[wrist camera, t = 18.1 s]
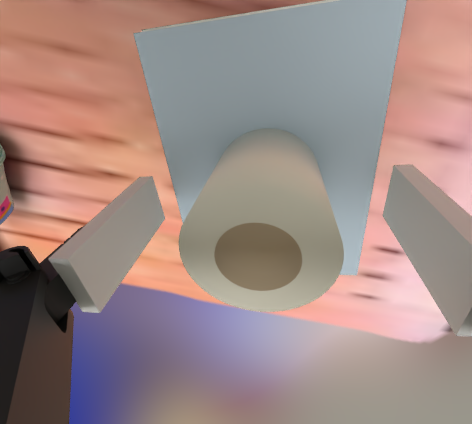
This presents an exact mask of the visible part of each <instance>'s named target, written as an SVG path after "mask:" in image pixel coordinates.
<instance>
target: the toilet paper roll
mask: <svg viewBox="0 0 472 424" xmlns="http://www.w3.org/2000/svg"><path fill="white" fill-rule="evenodd" d="M179 251H180V256H181V259H182V262H183V265H184V267H185V268H186V270H187V272H188V273H189V275H190V276H191V278H192V279H193V280H194V281H195V282H196V283H197V284H198V285H199V286H200V287H201V288H202V289H203V290H204V291H206V292H207V293H208V294H210V295H211V296H213V297H215V298H216V299H218V300H220V301H222V302H224V303H227V304H229V305H232V306H235V307H238V308H242V309H246V310H252V311H260V312H275V311H284V310H290V309H294V308H298V307H300V306H303V305H306V304H308V303H310V302H312V301H314V300H316V299H317V298H319V297H320V296H322V295H323V294H324V293H325V292H326V291H327V290H329V288H330V287H331V286H332V285H333V284H334V282H335V281H336V279H337V278H338V276H339V274H340V271H341V269H342V265H343V261H344V248H343V242H342V238H341V235H340V232H339V229H338V226H337V223H336V220H335V217H334V214H333V210H332V207H331V204H330V201H329V198H328V195H327V192H326V189H325V185H324V182H323V179H322V176H321V173H320V170H319V167H318V164H317V160H316V158H315V156H314V154H313V152H312V151H311V149H310V148H309V146H308V145H307V144H306V143H305V142H304V141H302V140H301V139H300V138H299V137H297V136H295V135H294V134H292V133H289V132H287V131H284V130H280V129H273V128H263V129H257V130H253V131H250V132H247V133H245V134H243V135H241V136H240V137H238V138H237V139H235V140H234V141H233V142H232V143H231V144H230V145H229V146H228V147H227V149H226V150H225V151H224V153H223V155H222V156H221V158H220V160H219V162H218V163H217V165H216V167H215V168H214V170H213V172H212V174H211V175H210V177H209V179H208V181H207V182H206V184H205V186H204V187H203V189H202V191H201V193H200V194H199V196H198V198H197V200H196V201H195V203H194V205H193V206H192V208H191V210H190V212H189V213H188V215H187V217H186V219H185V221H184V223H183V225H182V227H181V231H180V235H179Z"/></svg>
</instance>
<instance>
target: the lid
mask: <svg viewBox="0 0 472 424" xmlns="http://www.w3.org/2000/svg"><path fill="white" fill-rule="evenodd" d="M406 1H407V0H339V1H333V2H326V3H320V4H314V5H308V6H301V7H295V8H289V9H283V10H276V11H270V12H264V13H258V14H251V15H245V16H239V17H233V18H226V19H220V20H214V21H208V22H201V23H195V24H189V25H183V26H176V27H170V28H164V29H158V30H151V31H145V32H139V33H133V34H134V38H135V42H136V45H137V49H138V53H139V57H140V61H141V64H142V68H143V72H144V76H145V80H146V84H147V87H148V91H149V95H150V99H151V103H152V107H153V110H154V114H155V118H156V122H157V126H158V130H159V133H160V137H161V141H162V145H163V149H164V153H165V156H166V160H167V164H168V168H169V172H170V176H171V179H172V183H173V187H174V191H175V195H176V198H177V202H178V206H179V210H180V214H181V218H182V221H183V223H184V221H185V219H186V217H187V215H188V213H189V212H190V210H191V208H192V206H193V205H194V203H195V201H196V200H197V198H198V196H199V194H200V193H201V191H202V189H203V187H204V186H205V184H206V182H207V181H208V179H209V177H210V175H211V174H212V172H213V170H214V168H215V167H216V165H217V163H218V162H219V160H220V158H221V156H222V155H223V153H224V151H225V150H226V149H227V147H228V146H229V145H230V144H231V143H232V142H233V141H234V140H235V139H237V138H238V137H240V136H241V135H243V134H245V133H247V132H250V131H253V130H257V129H263V128H273V129H280V130H284V131H287V132H289V133H292V134H294V135H295V136H297V137H299V138H300V139H301V140H302V141H304V142H305V143H306V144H307V145H308V146H309V148H310V149H311V151H312V152H313V154H314V156H315V158H316V160H317V164H318V167H319V170H320V173H321V176H322V179H323V182H324V185H325V189H326V192H327V195H328V198H329V201H330V204H331V207H332V210H333V214H334V217H335V220H336V223H337V226H338V229H339V232H340V235H341V238H342V242H343V248H344V261H343V265H342V269H341V271H340V274H339V275H357V272H358V266H359V261H360V255H361V250H362V244H363V239H364V233H365V228H366V222H367V217H368V211H369V205H370V200H371V194H372V189H373V183H374V178H375V172H376V167H377V161H378V156H379V150H380V145H381V139H382V134H383V128H384V123H385V117H386V112H387V106H388V101H389V95H390V90H391V84H392V79H393V73H394V68H395V62H396V57H397V51H398V45H399V40H400V34H401V29H402V23H403V18H404V12H405V7H406Z"/></svg>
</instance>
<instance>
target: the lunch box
mask: <svg viewBox="0 0 472 424" xmlns="http://www.w3.org/2000/svg"><path fill="white" fill-rule="evenodd" d="M5 156H6V154H5V151H4V149H3V148H2V146H1V144H0V224H2V223H3V222H4V221H5V220H6V219H7V217H8V216H9V215H10V214H11V212H12V211H13V208H14V203H13V199H12V196H11V194H10V189H9V186H8V183H7V179H6V175H5V172H4V164H3V162H4V160H5Z"/></svg>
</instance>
